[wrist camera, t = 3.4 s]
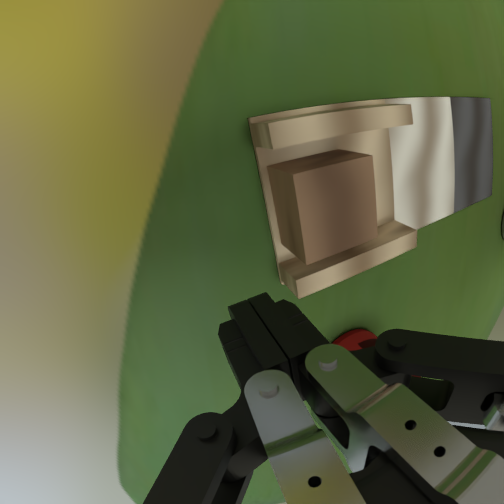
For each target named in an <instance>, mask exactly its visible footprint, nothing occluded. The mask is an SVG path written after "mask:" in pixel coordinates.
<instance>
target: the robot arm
mask: <svg viewBox="0 0 504 504" xmlns="http://www.w3.org/2000/svg"><path fill="white" fill-rule="evenodd" d="M502 236H503V239H504V215H503V222H502ZM228 310H229V313H230V316H231V320H229V321H227V322H224V323H221V324H220V326H219V332H218V335H219V338H220V341H221V344H222V346H223V349H224V352H225V355H226V357H227V360H228V363H229V365H230V367H231V369H232V371H233V373H234V376H235V378H236V380H237V382H238V384H239V386H240V389H241V394H240V397H239V399H238V400H237V402H236V403H235V404H234V405H233V406H232V407H231V408H230V409H228V410H227V411H225V412H224V413H223V414H219V413H214V412H208V413H203V414H200V415H197V416H195V417H194V418H192V419H191V420H190V421H189V422H188V423H187V424H186V426H185V428H184V429H183V431H182V433H181V435H180V437H179V439H178V441H177V442H176V444H175V446H174V448H173V450H172V452H171V454H170V455H169V457H168V459H167V461H166V463H165V465H164V466H163V468H162V470H161V472H160V474H159V475H158V477H157V479H156V481H155V483H154V484H153V486H152V488H151V490H150V492H149V493H148V495H147V497H146V499H145V501H144V502H143V504H241V503H242V500H243V498H244V495H245V493H246V490H247V488H248V485H249V482H250V480H251V477H252V475H253V470H254V469H256V468H257V467H258V466H259V465H261V464H262V463H263V462H264V461H266V460H267V459H269V461H270V464H271V466H272V469H273V471H274V474H275V476H276V478H277V481H278V483H279V486H280V488H281V491H282V493H283V495H284V498H285V500H286V502H287V504H504V342H502V341H493V340H483V339H473V338H465V337H456V336H448V335H440V334H432V333H425V332H417V331H410V330H403V329H391V330H387V331H385V332H383V333H382V334H380V335H379V336H378V338H377V340H376V343H375V346H372V347H368V348H363V349H359V350H351V351H349V350H347V349H345V348H344V347H342V346H340V345H336V344H330V343H329V342H328V340H327V339H326V338H325V337H324V336H323V335H322V334H321V333H320V332H319V331H318V329H317V328H316V327H315V326H314V325H313V324H312V323H311V322H310V321H309V320H308V318H307V317H306V316H305V315H304V314H302V312H301V311H300V309H299V308H298V307H297V306H296V305H295V304H293V303H291V302H289V301H286V300H284V299H283V300H281V301H278V302H276V303H275V302H274V301H273V300H272V299H271V297H270V296H269V295H268V294H267V293H266V292H265V293H262V294H259V295H257V296H254V297H252V298H249V299H247V300H244V301H241V302H239V303H236V304H233V305H231V306H228ZM412 375H414V376H421V377H427V378H421V377H414V376H412ZM428 378H434V379H442V380H434V379H428ZM305 400H306V401H307V402H308V404H309V405H310V407H311V413H312V416H313V418H314V419H315V421H316V422H317V423H318V424H319V426H320V427H321V428H322V429H323V430H324V431H323V430H322V429H318V427H317V426H316V424H315V423H314V421H313V419H312V417H311V415H310V413H309V412H308V410H307V408H306V406H305V404H304V402H303V401H305ZM447 421H452V422H460V423H470V424H480V425H485V427H486V428H485V429H478V428H471V427H463V426H456V425H451V424H450V423H449V422H447ZM326 434H327V435H328V436H329V438H330V439H331V440H332V441H333V442H334V444H335V445H336V446H337V447H338V448H339V450H340V451H341V452H342V453H343V455H344V456H345V458H346V461H347V463H348V465H349V467H350V469H351V470H352V472H353V473H350V474H349V473H348V472H347V470H346V468H345V466H344V465H343V463H342V461H341V459H340V458H339V456H338V454H337V452H336V451H335V449H334V447H333V445H332V444H331V442H330V440H329V438H328V437H327V435H326Z"/></svg>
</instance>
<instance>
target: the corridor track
mask: <svg viewBox="0 0 504 504" xmlns="http://www.w3.org/2000/svg"><path fill="white" fill-rule="evenodd" d="M248 122H249V127H250V132H251V136H252V141H253V146H254V151H255V156H256V160H257V165H258V170H259V175H260V180H261V185H262V190H263V195H264V200H265V205H266V210H267V215H268V220H269V225H270V230H271V235H272V241H273V246H274V251H275V256H276V262H277V267H278V272H279V278H280V283H281V284H282V285H283V284H285V285H286V286H287V287H288V288H289V289H290V290H291V291H292V292H293V293H294V295H295V296H296V297H297V298H298V299H300V298H302V297H305V296H307V295H310V294H312V293H315V292H317V291H319V290H322V289H324V288H326V287H329V286H331V285H333V284H336V283H338V282H340V281H343V280H345V279H347V278H350V277H352V276H354V275H356V274H359V273H361V272H363V271H365V270H368V269H370V268H372V267H374V266H376V265H379V264H381V263H383V262H385V261H387V260H390V259H392V258H394V257H396V256H398V255H400V254H402V253H404V252H407V251H409V250H411V249H413V248H415V247H417V229H419V228H422V227H424V226H426V225H428V224H431V223H433V222H435V221H437V220H440V219H442V218H444V217H446V216H448V215H451V214H453V213H455V212H457V211H459V210H461V209H464V208H466V207H468V206H470V205H472V204H474V203H476V202H478V201H481V200H483V199H485V198H487V197H489V196H491V195H492V179H493V134H492V116H491V104H490V98H472V97H413V98H392V99H377V100H365V101H355V102H345V103H337V104H329V105H321V106H314V107H307V108H300V109H294V110H288V111H282V112H277V113H271V114H266V115H261V116H256V117H251V118H248ZM337 149H341V150H347V151H353V152H358V153H363V154H368V155H372V156H373V166H374V178H375V191H376V208H377V232H378V237H377V238H375V239H372V240H370V241H367V242H365V243H362V244H360V245H357V246H355V247H352V248H350V249H347V250H345V251H342V252H340V253H337V254H334V255H332V256H329V257H327V258H324V259H322V260H319V261H316V262H314V263H311V264H309V265H306V264H304V263H303V262H302V261H301V260H300V259H299V258H297V257H296V256H295V255H294V254H293V253H291V252H290V251H289V250H288V249H287V248H286V247H284V246H283V245H282V244H281V240H280V234H279V228H278V223H277V218H276V212H275V207H274V201H273V196H272V191H271V186H270V181H269V175H268V170H267V166H269V165H273V164H276V163H280V162H284V161H289V160H293V159H297V158H301V157H305V156H310V155H314V154H318V153H323V152H327V151H332V150H337Z"/></svg>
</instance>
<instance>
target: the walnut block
mask: <svg viewBox="0 0 504 504" xmlns="http://www.w3.org/2000/svg"><path fill="white" fill-rule="evenodd" d="M267 170H268V175H269V181H270V186H271V191H272V196H273V201H274V207H275V212H276V218H277V223H278V228H279V234H280V240H281V244H282V245H283V246H284V247H286V248H287V249H288V250H289V251H290V252H291V253H293V254H294V255H295V256H296V257H297V258H299V259H300V260H301V261H302V262H303V263H304V264H306V265H309V264H311V263H314V262H316V261H319V260H322V259H324V258H327V257H329V256H332V255H334V254H337V253H340V252H342V251H345V250H347V249H350V248H352V247H355V246H357V245H360V244H362V243H365V242H367V241H370V240H372V239H375V238H377V237H378V232H377V208H376V191H375V178H374V166H373V156H372V155H368V154H363V153H358V152H353V151H347V150H341V149H337V150H332V151H327V152H323V153H318V154H314V155H310V156H305V157H301V158H297V159H293V160H289V161H284V162H280V163H276V164H273V165H269V166H267Z"/></svg>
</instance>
